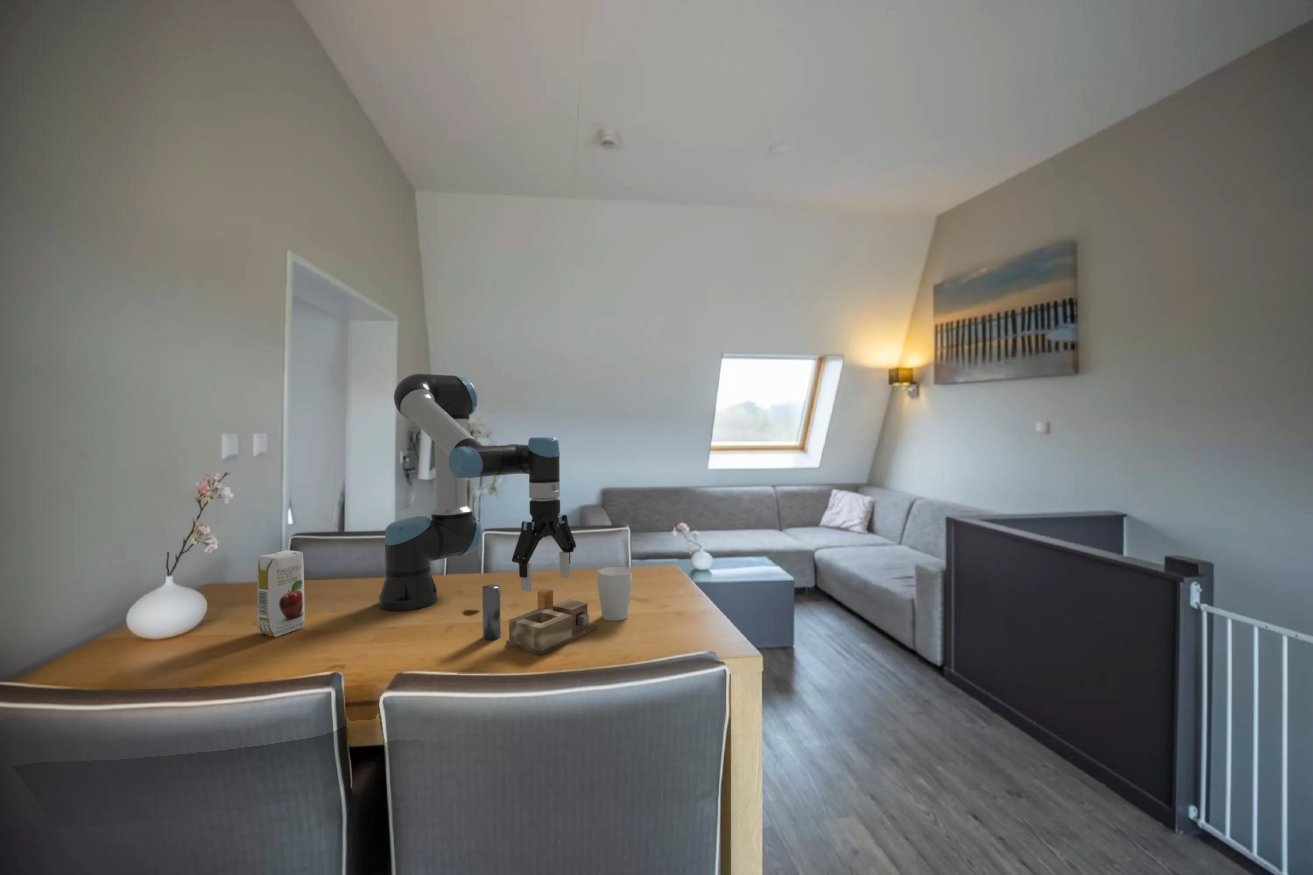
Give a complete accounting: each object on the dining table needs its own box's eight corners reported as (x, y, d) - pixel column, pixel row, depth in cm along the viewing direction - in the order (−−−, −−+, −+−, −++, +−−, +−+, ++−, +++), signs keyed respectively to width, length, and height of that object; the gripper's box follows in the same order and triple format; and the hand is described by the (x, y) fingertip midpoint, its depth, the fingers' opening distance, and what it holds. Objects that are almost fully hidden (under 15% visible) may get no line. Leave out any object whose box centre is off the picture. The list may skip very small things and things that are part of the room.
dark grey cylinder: (479, 638, 134) (478, 587, 133) (492, 632, 137) (492, 583, 137) (491, 641, 132) (490, 590, 131) (504, 636, 135) (503, 586, 135)
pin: (537, 623, 142) (537, 591, 142) (546, 620, 145) (546, 588, 144) (582, 635, 134) (581, 601, 134) (590, 631, 137) (590, 598, 137)
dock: (506, 644, 130) (505, 616, 129) (562, 620, 146) (562, 595, 145) (541, 655, 124) (541, 626, 123) (596, 628, 140) (596, 602, 139)
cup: (627, 623, 143) (627, 576, 143) (593, 621, 145) (592, 574, 145) (635, 612, 152) (635, 567, 152) (603, 609, 154) (603, 565, 153)
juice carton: (253, 635, 136) (251, 556, 135) (288, 623, 144) (287, 548, 143) (275, 639, 133) (273, 559, 132) (309, 627, 141) (308, 551, 140)
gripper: (518, 506, 129) (519, 598, 130) (588, 494, 150) (589, 574, 151) (495, 503, 133) (497, 593, 134) (567, 492, 154) (568, 570, 155)
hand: (546, 583), depth 142 cm, fingers open, 13 cm apart
